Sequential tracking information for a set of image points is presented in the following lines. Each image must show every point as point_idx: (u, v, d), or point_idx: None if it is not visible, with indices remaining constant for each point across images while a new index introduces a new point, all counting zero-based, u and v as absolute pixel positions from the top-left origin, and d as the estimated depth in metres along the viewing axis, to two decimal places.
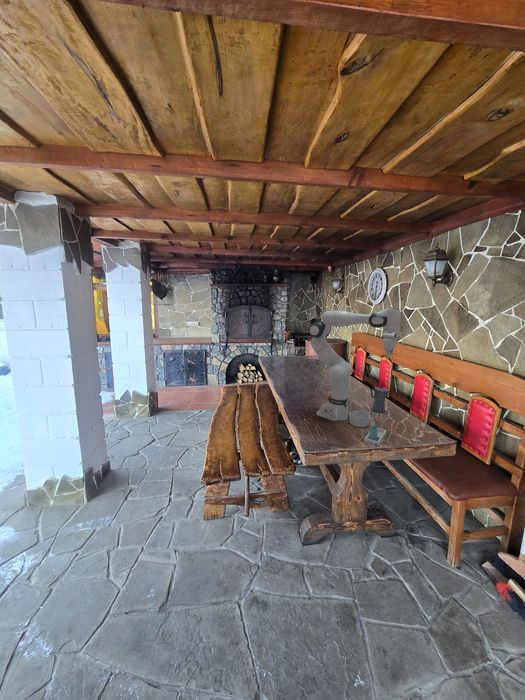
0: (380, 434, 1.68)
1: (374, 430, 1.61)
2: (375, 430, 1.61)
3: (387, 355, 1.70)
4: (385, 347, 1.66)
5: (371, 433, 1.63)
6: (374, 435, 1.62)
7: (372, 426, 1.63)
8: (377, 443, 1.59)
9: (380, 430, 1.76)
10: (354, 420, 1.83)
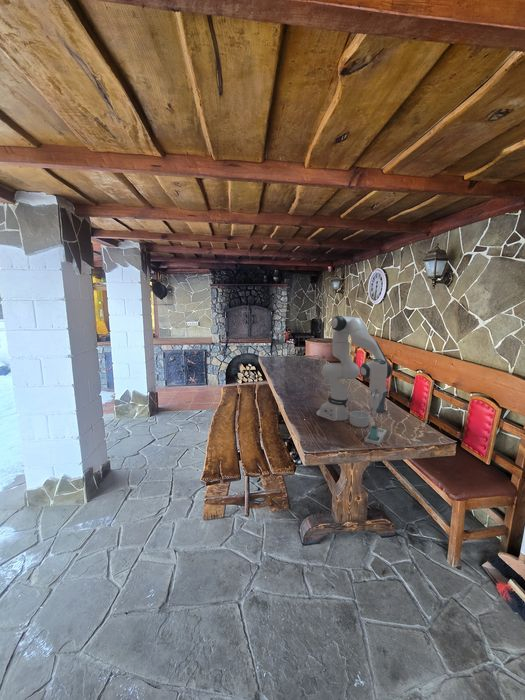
0: (380, 434, 1.68)
1: (374, 430, 1.61)
2: (375, 430, 1.61)
3: None
4: None
5: (371, 433, 1.63)
6: (374, 435, 1.62)
7: (372, 426, 1.63)
8: (377, 443, 1.59)
9: (380, 430, 1.76)
10: (354, 420, 1.83)
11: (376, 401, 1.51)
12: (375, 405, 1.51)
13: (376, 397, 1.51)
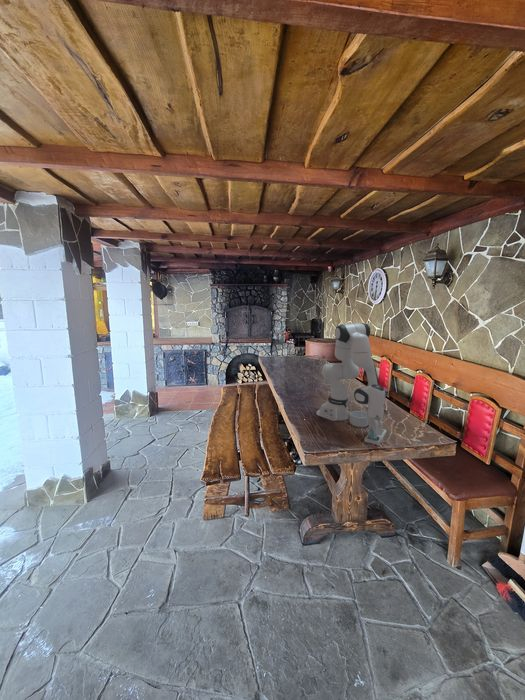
0: None
1: None
2: None
3: None
4: None
5: (371, 433, 1.63)
6: None
7: None
8: (377, 443, 1.59)
9: None
10: (354, 420, 1.83)
11: (381, 428, 1.53)
12: (380, 432, 1.53)
13: (381, 424, 1.53)
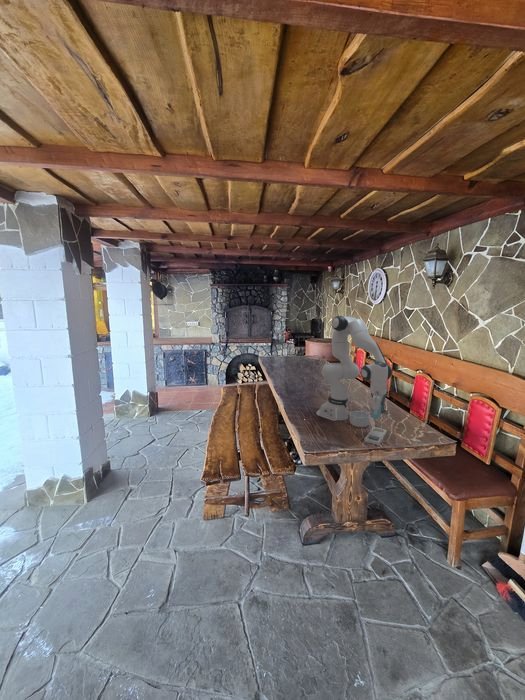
0: (380, 434, 1.68)
1: None
2: None
3: None
4: None
5: None
6: None
7: None
8: (377, 443, 1.59)
9: (380, 430, 1.76)
10: (354, 420, 1.83)
11: (377, 403, 1.54)
12: (376, 407, 1.55)
13: (377, 399, 1.55)
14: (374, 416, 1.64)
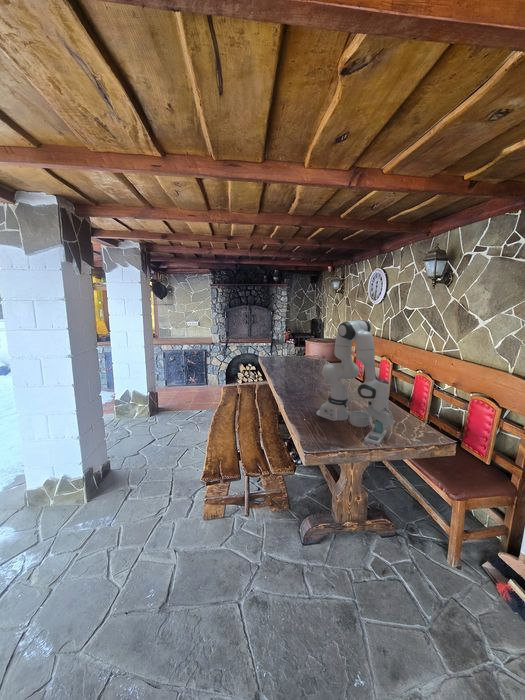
0: (380, 434, 1.68)
1: (381, 423, 1.71)
2: (381, 423, 1.71)
3: None
4: None
5: (377, 426, 1.72)
6: (380, 428, 1.71)
7: None
8: (377, 443, 1.59)
9: None
10: (354, 420, 1.83)
11: (392, 419, 1.63)
12: (391, 423, 1.63)
13: None
14: (379, 432, 1.72)
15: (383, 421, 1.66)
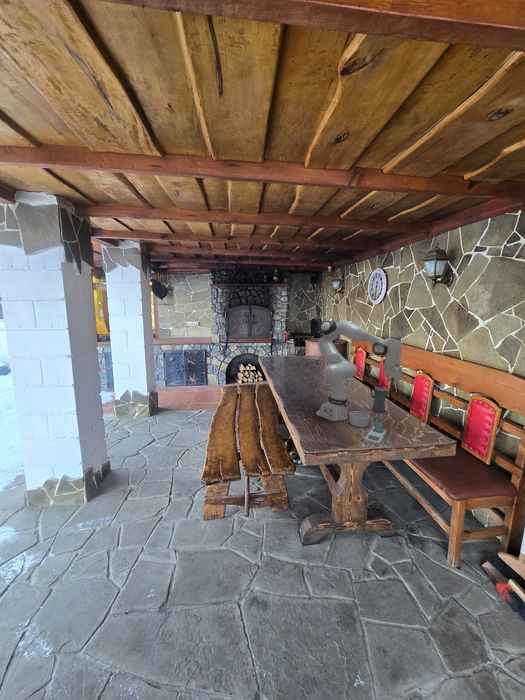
0: (380, 434, 1.68)
1: (381, 423, 1.71)
2: (381, 423, 1.71)
3: None
4: None
5: (377, 426, 1.72)
6: (380, 428, 1.71)
7: (378, 420, 1.72)
8: (377, 443, 1.59)
9: None
10: (354, 420, 1.83)
11: (401, 373, 1.71)
12: (401, 377, 1.71)
13: (401, 370, 1.71)
14: (379, 432, 1.72)
15: (393, 376, 1.75)
